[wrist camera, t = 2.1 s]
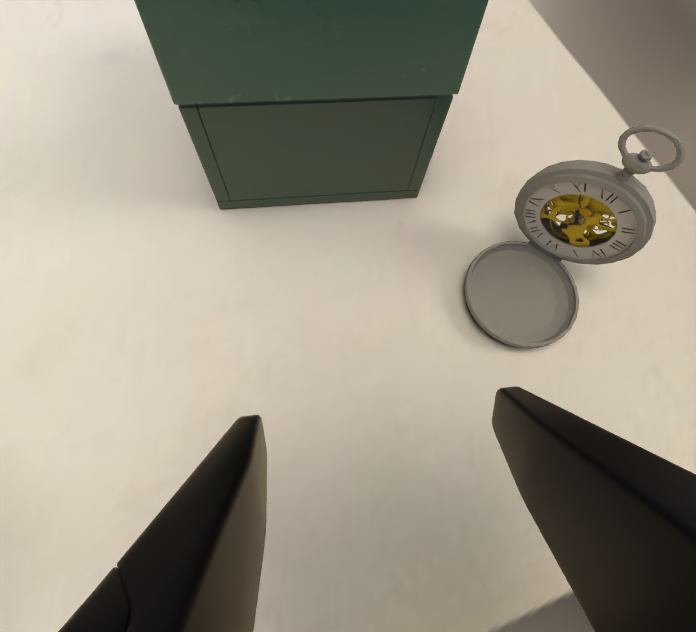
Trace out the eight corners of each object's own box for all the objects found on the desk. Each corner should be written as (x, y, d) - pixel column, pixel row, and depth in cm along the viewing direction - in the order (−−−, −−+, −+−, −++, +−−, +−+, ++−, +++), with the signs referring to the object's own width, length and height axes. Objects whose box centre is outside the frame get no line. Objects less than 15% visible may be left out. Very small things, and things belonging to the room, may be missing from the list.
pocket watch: (466, 350, 23) (566, 275, 14) (453, 222, 26) (529, 87, 17) (604, 352, 24) (791, 281, 14) (577, 226, 26) (718, 98, 17)
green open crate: (218, 51, 30) (183, -83, 22) (387, 46, 31) (407, -82, 24) (220, 209, 25) (177, 107, 18) (417, 197, 26) (453, 97, 19)
